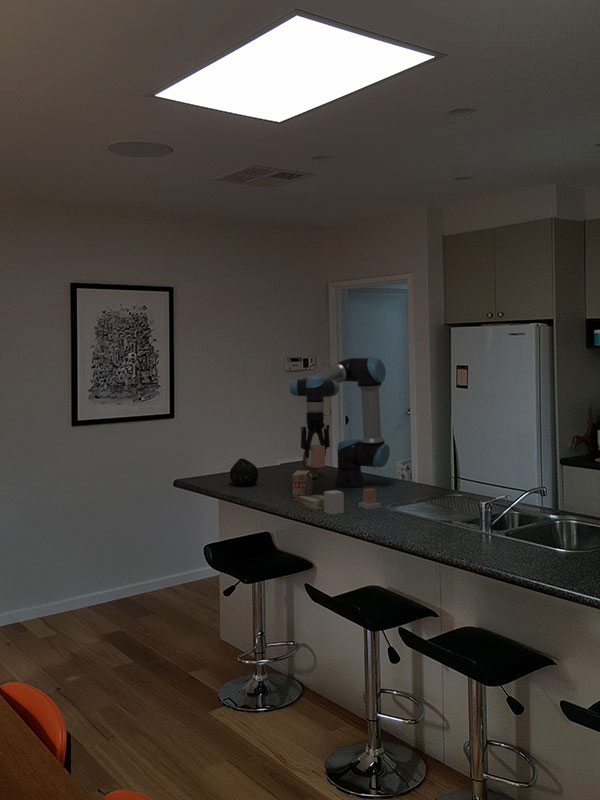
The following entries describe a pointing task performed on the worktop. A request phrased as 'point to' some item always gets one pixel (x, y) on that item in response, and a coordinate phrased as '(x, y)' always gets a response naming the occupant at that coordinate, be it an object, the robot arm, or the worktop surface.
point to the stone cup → (309, 468)
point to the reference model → (369, 499)
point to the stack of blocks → (302, 484)
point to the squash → (243, 473)
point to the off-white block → (333, 502)
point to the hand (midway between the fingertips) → (315, 464)
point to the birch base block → (311, 502)
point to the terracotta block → (317, 456)
